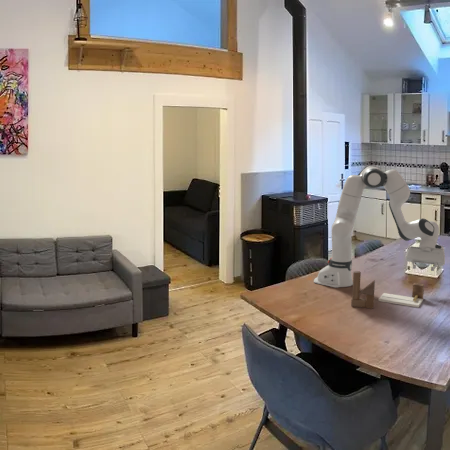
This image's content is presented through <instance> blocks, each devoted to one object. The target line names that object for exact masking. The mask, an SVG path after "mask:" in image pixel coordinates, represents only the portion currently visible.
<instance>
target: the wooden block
mask: <svg viewBox="0 0 450 450" xmlns="http://www.w3.org/2000/svg"><path fill="white" fill-rule="evenodd" d="M352 273H353V276H352V281H353V285H352V295H351V297H352V298H351V302H350V305H351V307H357V308H365V309H371V310H372V309H374V306H375V285H376V279H374V280H373V281H371V282H370V283H369V284H367V285H366V286H365V287H364V288H363V289H361V277H362V276H361V274H362V273H361V271H358V270H354V271H353V272H352ZM360 295H365V298H362V297H361V296H360Z"/></svg>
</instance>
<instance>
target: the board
mask: <svg viewBox="0 0 450 450" xmlns="http://www.w3.org/2000/svg"><path fill="white" fill-rule="evenodd" d="M413 299H414V298H413V297H412V296H406V295H399V294H392V293H387V292H383V293H382V294H381V295H380V297H379V298H378V302H380V303H381V302H383V303H388V304H394V305H395V304H396V305H401V306H406V307H413V308H420V306H421V305H422V303H423V301H424V298H423V299H419V298H417V299H416V301H413Z"/></svg>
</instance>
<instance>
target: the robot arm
mask: <svg viewBox="0 0 450 450" xmlns="http://www.w3.org/2000/svg"><path fill="white" fill-rule="evenodd" d="M380 187H383V188H384V189H385V190H386V192H387V194H388V197H389V201H388V207H389V210H390V212H391V215H392V218H393V221H394V222H395V225H396V229H397V232H398V236H399V237H400V239H402V240H403V241H406V242H407V241H411V240H414V239H417V238H420V242H419V245H418V246H412V245H411V246H409V247H407V248H406V249H407V250H406V255H405V261H406V262H409V263H411V264H412V269H413V270H416V269H417V266H416V265H417V264H415V263H418V264H427V265H433V266H431V267H430V271H431V272H434V271H435V269H436V268H437V267H438V266H444V265H445V264H446V256H445V255H446V254H445V248H444V247H445V246H443V245H441V244H438V243H437V242H438V240H439V237H440V236H439V235H440V227H439V224H438V223H437V222H435V221H433V220H428V219H426V218H425V217H424V218H419V219H416V220H415V219H414V220H412V221H406V219H405V217H404V214H403V211H402V206H403V205H404V204H405V203H407V201H408V200H409V198H410V196H411V189H410V188H409V186H408V184H407V182H406V180H405V179H404V178H403V176H402V175H401V173H399V171H398V170H396V169H393V168H392V169H388V170H386V171H382V170H381V169H380V168H379V167H378V166H376V165H367V166H365V167H364V168H363V169H362V170H361V171H360V172H359V173H358V174H351V175H349V176H348V177H347V178H346V179H345V182H344V184H343V188H342V191H341V194H340V198H339V200H338V205H337V210H336V214H335V219H334V222H333V223H332V225H331V257H330V258H329V259H328V260H327V264H328V265H326V266H324V267H322V268H321V269H320V270H319V271H318V274H317V277H315V278H314V279H313V283H315V284H318V285H323V286H327V287H331V288H338V289H339V288H346V287H351V286H353V276H352V267H353V260H352V249H353V248H352V246H353V245H352V233H353V232H352V231H353V229H354V226H355V221H356V217H357V213H358V212H359V211H358V210H359V207H360V202H361V199H362V196H363V192H364V190H365V188H371V189H377V188H380Z"/></svg>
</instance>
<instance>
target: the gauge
mask: <svg viewBox="0 0 450 450" xmlns="http://www.w3.org/2000/svg"><path fill="white" fill-rule="evenodd" d="M424 292H425V284H424V283H418V282H413V284H412V292H411V293H412V294H411V297H413V298H414V299H413V301H416V299H417V298H419V299H423V300H424Z"/></svg>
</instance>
